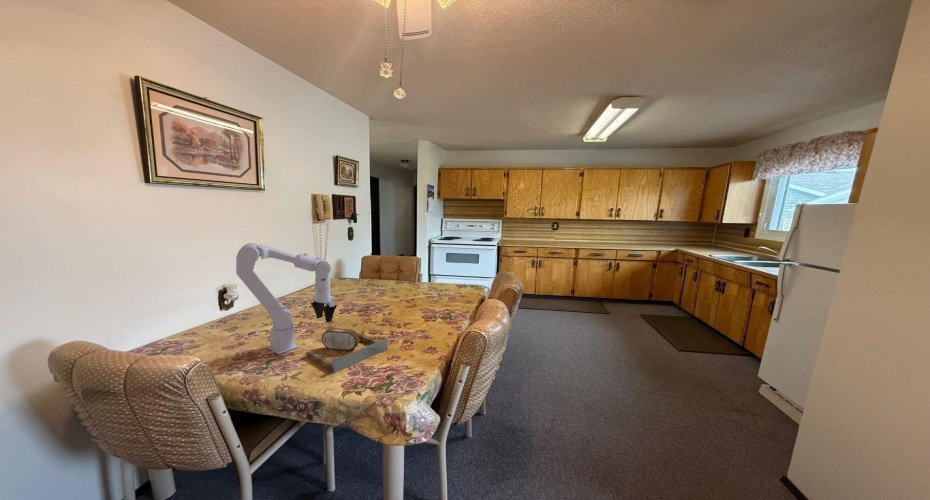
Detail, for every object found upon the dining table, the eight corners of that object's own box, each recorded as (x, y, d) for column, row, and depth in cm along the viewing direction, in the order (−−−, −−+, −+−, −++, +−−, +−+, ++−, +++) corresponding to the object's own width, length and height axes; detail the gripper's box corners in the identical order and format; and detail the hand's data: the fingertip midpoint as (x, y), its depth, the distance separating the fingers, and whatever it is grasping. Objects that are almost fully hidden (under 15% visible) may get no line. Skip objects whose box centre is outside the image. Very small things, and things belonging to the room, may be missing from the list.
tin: (360, 348, 123) (359, 328, 122) (356, 352, 119) (356, 331, 118) (325, 346, 124) (324, 326, 123) (320, 349, 121) (319, 329, 120)
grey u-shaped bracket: (306, 356, 115) (306, 346, 114) (359, 337, 133) (359, 328, 133) (334, 372, 104) (334, 361, 103) (387, 349, 122) (387, 339, 122)
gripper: (341, 289, 125) (342, 321, 127) (323, 284, 134) (324, 313, 135) (324, 292, 119) (326, 325, 121) (307, 287, 128) (308, 317, 130)
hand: (324, 319), depth 128 cm, fingers open, 7 cm apart
